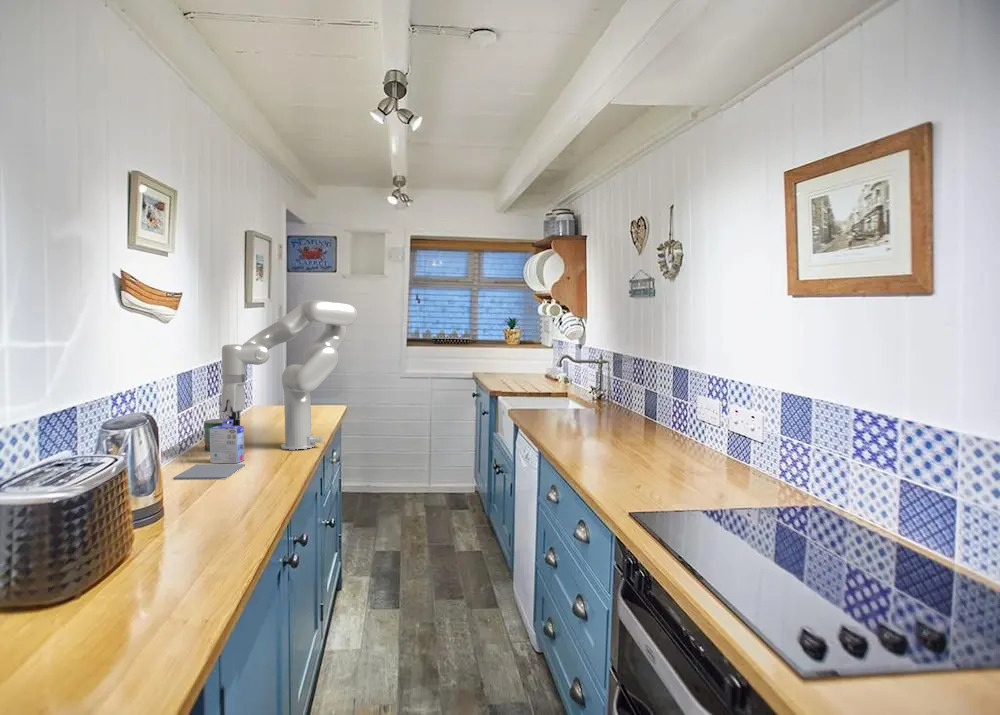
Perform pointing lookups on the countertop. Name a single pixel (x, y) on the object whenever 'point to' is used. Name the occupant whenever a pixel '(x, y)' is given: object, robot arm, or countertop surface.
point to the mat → (209, 471)
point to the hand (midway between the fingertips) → (234, 430)
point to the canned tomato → (207, 426)
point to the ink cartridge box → (227, 443)
